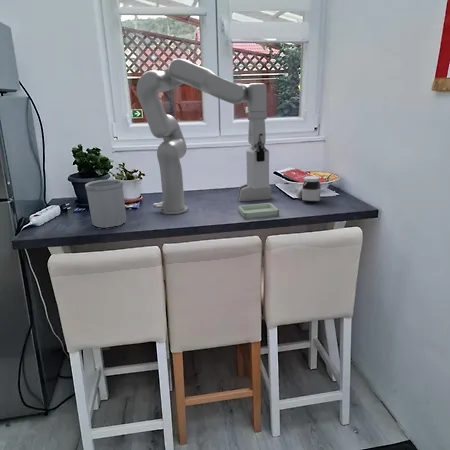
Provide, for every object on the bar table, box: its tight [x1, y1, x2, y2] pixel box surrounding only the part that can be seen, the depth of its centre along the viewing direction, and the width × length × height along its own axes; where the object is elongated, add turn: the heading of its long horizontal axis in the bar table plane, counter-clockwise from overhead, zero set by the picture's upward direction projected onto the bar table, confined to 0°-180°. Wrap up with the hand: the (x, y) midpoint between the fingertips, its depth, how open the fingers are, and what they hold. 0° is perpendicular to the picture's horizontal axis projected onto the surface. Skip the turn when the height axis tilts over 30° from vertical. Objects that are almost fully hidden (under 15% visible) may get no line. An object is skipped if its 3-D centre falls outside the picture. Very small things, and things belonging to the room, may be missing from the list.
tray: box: [237, 202, 280, 220], centre depth 170 cm, size 15×12×2 cm
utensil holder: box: [84, 178, 127, 227], centre depth 162 cm, size 15×15×18 cm
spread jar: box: [296, 175, 322, 205], centre depth 184 cm, size 12×11×12 cm
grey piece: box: [236, 183, 272, 202], centre depth 190 cm, size 17×5×10 cm, turn 100°
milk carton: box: [246, 143, 270, 189], centre depth 163 cm, size 7×7×19 cm
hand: (257, 159), depth 162 cm, fingers closed on milk carton, 7 cm apart
